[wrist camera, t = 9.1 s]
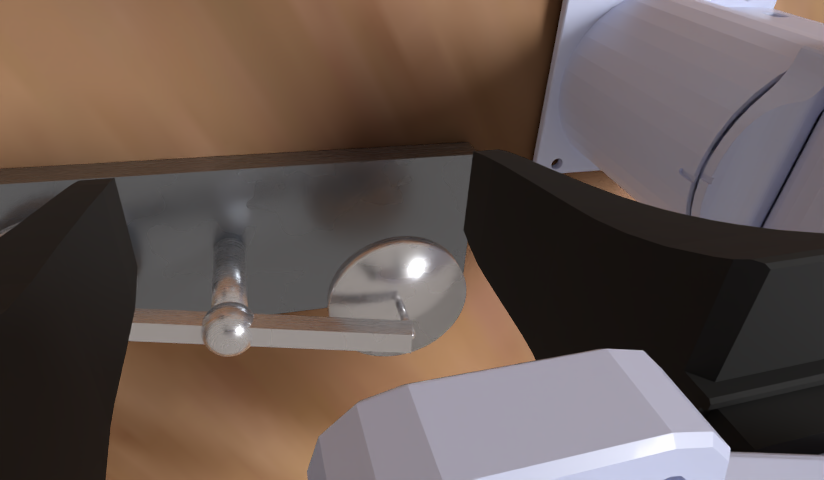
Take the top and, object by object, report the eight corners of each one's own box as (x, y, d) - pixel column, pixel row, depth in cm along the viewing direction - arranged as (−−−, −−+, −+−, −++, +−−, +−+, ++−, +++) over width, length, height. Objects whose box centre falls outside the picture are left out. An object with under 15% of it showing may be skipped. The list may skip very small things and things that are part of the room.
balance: (468, 142, 24) (550, 242, 18) (452, 275, 28) (516, 396, 22) (-95, 174, 19) (-249, 327, 13) (-20, 330, 23) (-111, 506, 17)
